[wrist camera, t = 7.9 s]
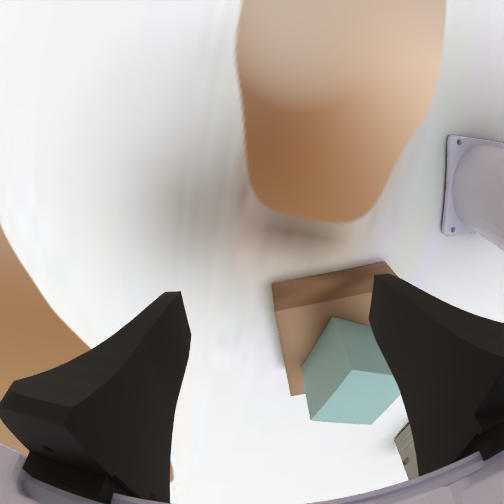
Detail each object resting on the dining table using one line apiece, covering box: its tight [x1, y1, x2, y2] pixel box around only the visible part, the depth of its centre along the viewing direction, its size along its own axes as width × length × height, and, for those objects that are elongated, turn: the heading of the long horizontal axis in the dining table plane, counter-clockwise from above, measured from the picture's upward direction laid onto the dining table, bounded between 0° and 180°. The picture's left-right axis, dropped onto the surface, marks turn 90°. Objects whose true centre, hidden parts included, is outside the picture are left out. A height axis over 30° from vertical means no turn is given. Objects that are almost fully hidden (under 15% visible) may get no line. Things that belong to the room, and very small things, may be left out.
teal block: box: [301, 317, 401, 424], centre depth 18 cm, size 5×5×5 cm
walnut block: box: [272, 262, 398, 396], centre depth 22 cm, size 9×9×4 cm
